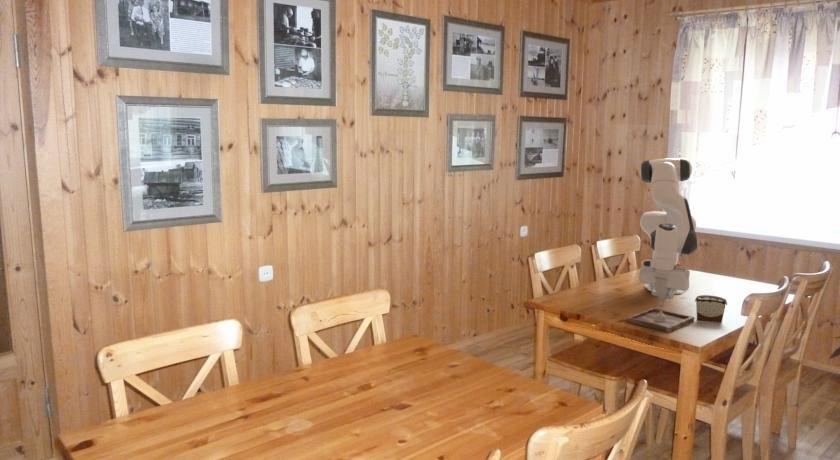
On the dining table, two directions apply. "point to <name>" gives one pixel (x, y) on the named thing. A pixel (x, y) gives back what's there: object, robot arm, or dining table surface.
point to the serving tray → (670, 325)
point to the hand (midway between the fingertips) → (662, 296)
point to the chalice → (661, 297)
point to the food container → (710, 308)
